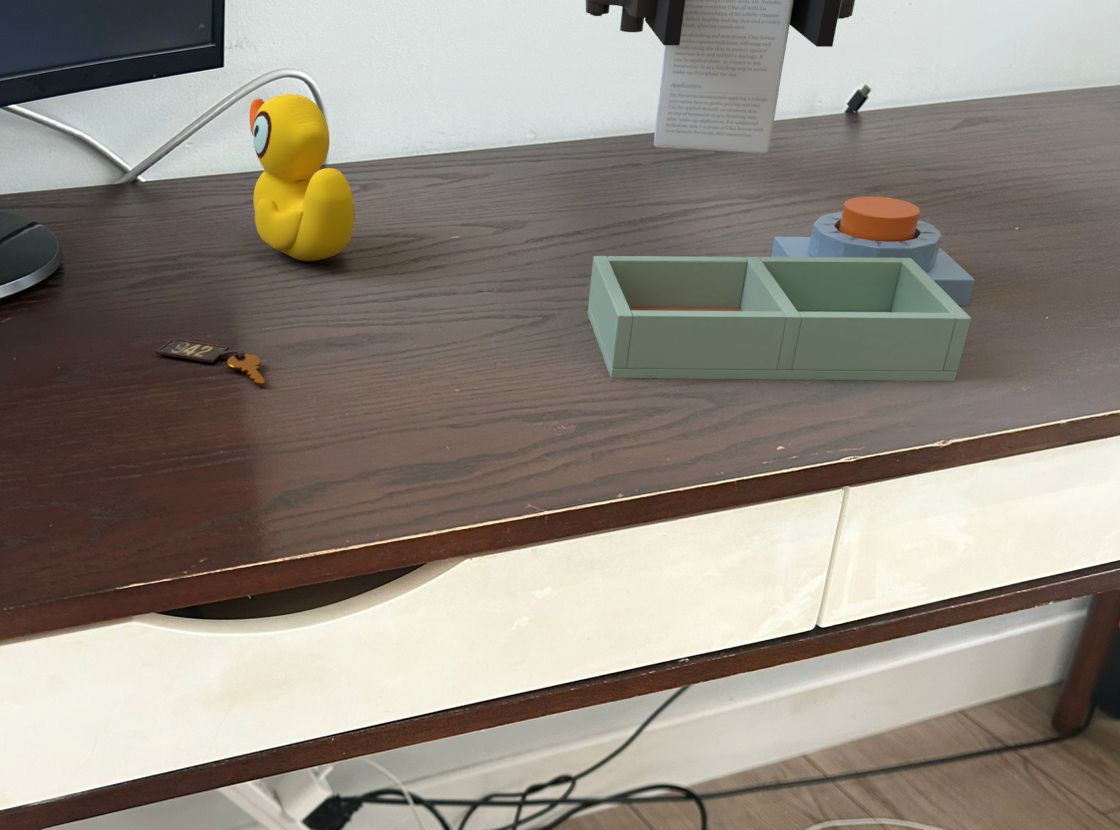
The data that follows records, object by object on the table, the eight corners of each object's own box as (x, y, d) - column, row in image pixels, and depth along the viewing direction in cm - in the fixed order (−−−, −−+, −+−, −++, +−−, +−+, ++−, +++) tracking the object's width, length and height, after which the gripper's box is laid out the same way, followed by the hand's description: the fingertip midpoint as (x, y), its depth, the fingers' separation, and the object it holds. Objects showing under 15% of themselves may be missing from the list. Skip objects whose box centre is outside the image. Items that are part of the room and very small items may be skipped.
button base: (923, 262, 89) (936, 209, 87) (968, 306, 83) (983, 250, 81) (769, 261, 90) (779, 208, 88) (801, 305, 83) (812, 249, 81)
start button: (900, 223, 86) (906, 196, 85) (923, 246, 82) (930, 217, 82) (829, 223, 86) (835, 195, 85) (850, 246, 83) (856, 217, 82)
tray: (897, 316, 81) (911, 257, 79) (955, 382, 73) (972, 318, 71) (587, 314, 82) (593, 255, 80) (610, 378, 74) (618, 315, 72)
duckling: (223, 236, 95) (217, 85, 89) (291, 224, 97) (289, 76, 91) (302, 285, 86) (300, 122, 81) (375, 270, 88) (377, 111, 83)
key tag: (148, 351, 77) (147, 341, 77) (183, 335, 79) (182, 325, 79) (261, 386, 73) (261, 376, 72) (296, 368, 75) (295, 358, 74)
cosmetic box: (769, 136, 74) (811, -110, 68) (768, 156, 71) (812, -101, 65) (655, 128, 76) (686, -114, 69) (649, 148, 72) (681, -105, 66)
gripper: (823, 14, 86) (942, 99, 67) (512, 12, 87) (540, 95, 68) (848, -120, 82) (981, -70, 63) (521, -121, 83) (553, -72, 64)
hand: (752, 15), depth 65 cm, fingers closed on cosmetic box, 7 cm apart
